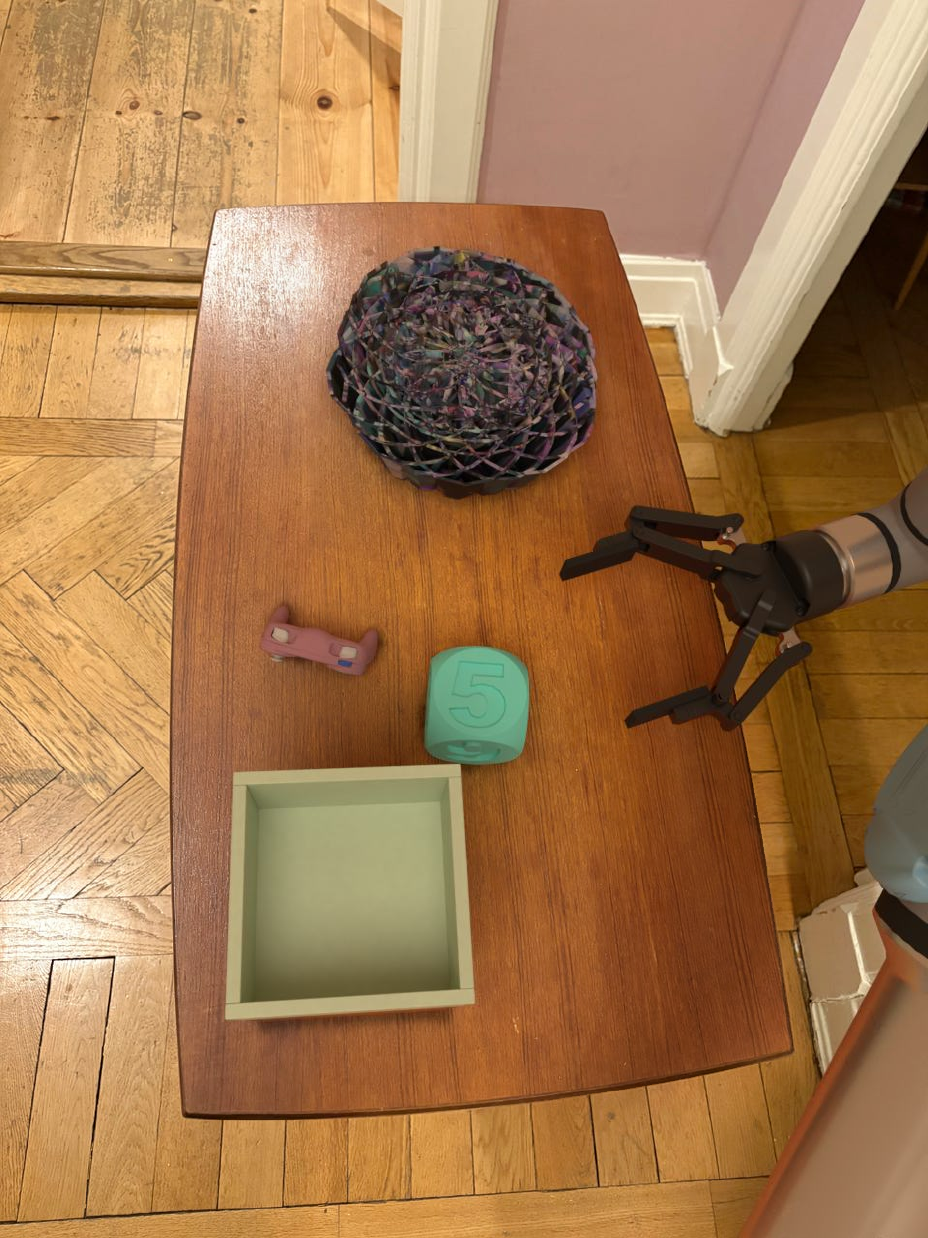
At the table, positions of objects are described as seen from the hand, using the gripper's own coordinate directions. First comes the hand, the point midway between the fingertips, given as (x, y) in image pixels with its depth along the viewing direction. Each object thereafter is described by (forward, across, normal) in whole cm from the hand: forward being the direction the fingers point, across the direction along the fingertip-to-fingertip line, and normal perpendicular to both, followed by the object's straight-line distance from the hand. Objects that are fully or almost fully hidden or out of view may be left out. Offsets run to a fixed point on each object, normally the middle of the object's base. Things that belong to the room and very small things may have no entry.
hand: (595, 643), depth 76 cm
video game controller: (+20, +10, -10) cm, 25 cm away
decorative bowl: (0, +31, -11) cm, 33 cm away
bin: (+25, -13, +6) cm, 28 cm away
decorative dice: (+10, 0, -10) cm, 14 cm away
